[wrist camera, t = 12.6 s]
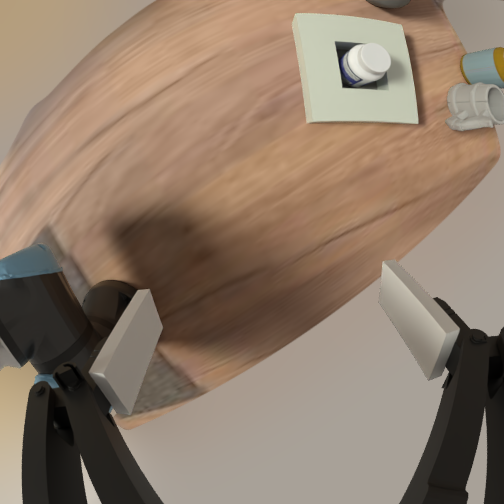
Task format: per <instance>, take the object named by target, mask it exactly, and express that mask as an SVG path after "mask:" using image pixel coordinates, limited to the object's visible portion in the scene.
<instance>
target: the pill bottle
mask: <svg viewBox="0 0 504 504" xmlns="http://www.w3.org/2000/svg"><path fill="white" fill-rule="evenodd" d="M338 63H339V69H340V75H341V81H343V82H344V83H345V84H347V85H349V86H352V87H361V86H364V85H366V84H369V83H372V82H374V81H377V80H379V79H381V78H382V77H383V76H384V74H385V72H386V71H387V70H388V69H389V68H390V65H391V58H390V55H389V53H388V52H387V50H386V49H385V48H384V47H382V46H381V45H379V44H376V43H368V44H360V45H356V46H354V47H353V48H352V49H350V50H349V51H348V52H347V53H346V54H344V55H343V56H342V57H341V58H340V59H339V60H338Z"/></svg>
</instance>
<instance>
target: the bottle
mask: <svg viewBox="0 0 504 504" xmlns="http://www.w3.org/2000/svg"><path fill="white" fill-rule="evenodd" d="M460 67H461V72H462V74H463V76H464V78H465V80H466V81H467V82H468V83H469V84H470V85H473V84H475V83H479V82H482V83H484V84H494V85H496V86H498V87H499V88H504V48H502V47H499V48H493V49H488V50H482V51H478V52H473V53H469V54H466V55H463V56H462V58H461V62H460Z"/></svg>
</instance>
